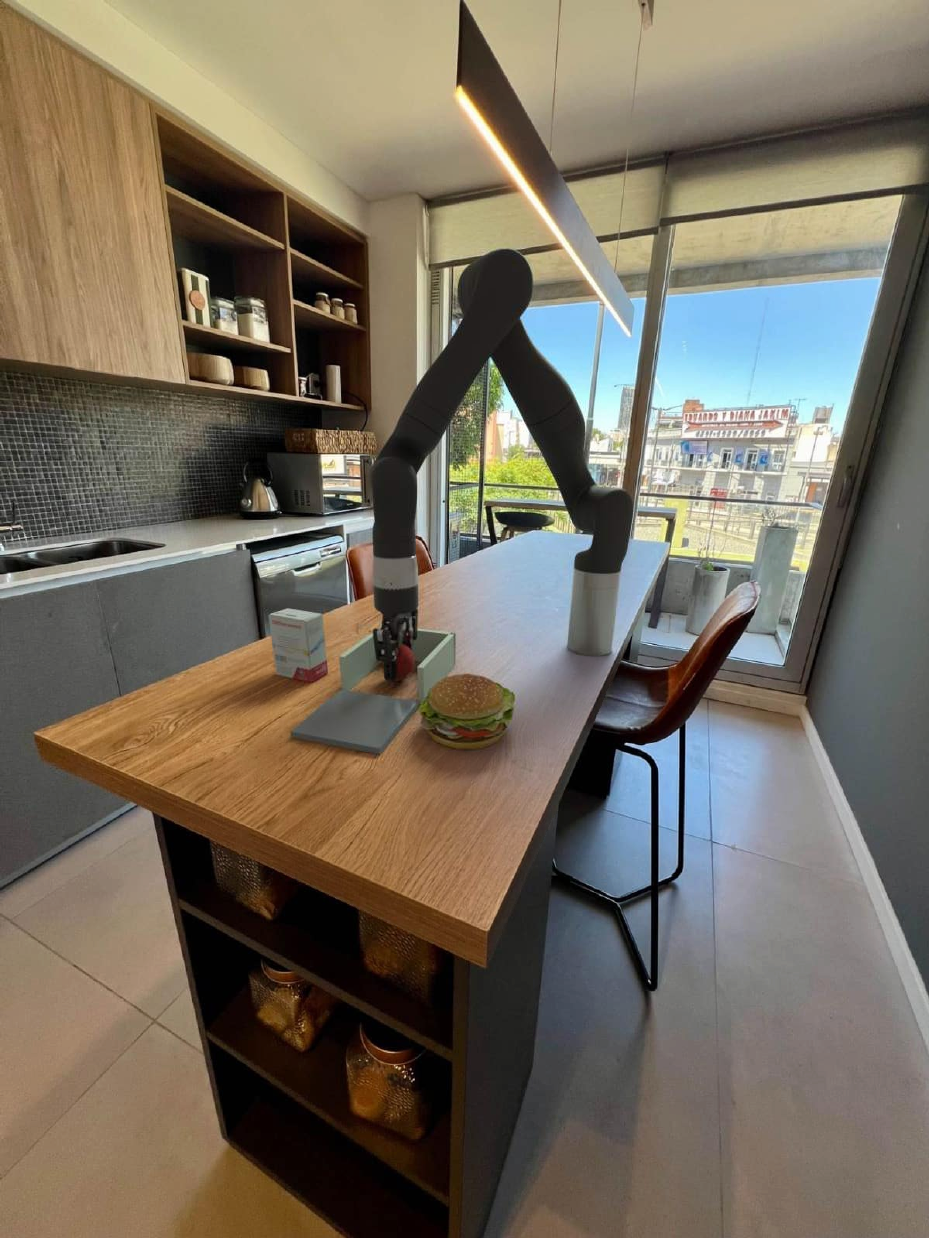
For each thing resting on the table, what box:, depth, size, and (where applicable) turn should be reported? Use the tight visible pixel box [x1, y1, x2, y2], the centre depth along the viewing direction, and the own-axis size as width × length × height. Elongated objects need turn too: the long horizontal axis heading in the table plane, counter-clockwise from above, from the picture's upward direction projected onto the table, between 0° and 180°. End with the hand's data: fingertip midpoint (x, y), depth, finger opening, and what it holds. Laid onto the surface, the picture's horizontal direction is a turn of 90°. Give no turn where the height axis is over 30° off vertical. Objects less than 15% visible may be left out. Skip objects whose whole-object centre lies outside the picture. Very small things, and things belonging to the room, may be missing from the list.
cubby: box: [338, 625, 457, 705], centre depth 88 cm, size 17×15×6 cm
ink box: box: [268, 607, 329, 683], centre depth 88 cm, size 9×5×12 cm, turn 65°
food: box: [416, 673, 516, 750], centre depth 71 cm, size 14×14×8 cm
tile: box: [289, 688, 420, 756], centre depth 74 cm, size 14×14×1 cm
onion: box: [381, 641, 416, 682], centre depth 87 cm, size 6×6×8 cm
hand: (398, 672), depth 87 cm, fingers closed on onion, 6 cm apart
